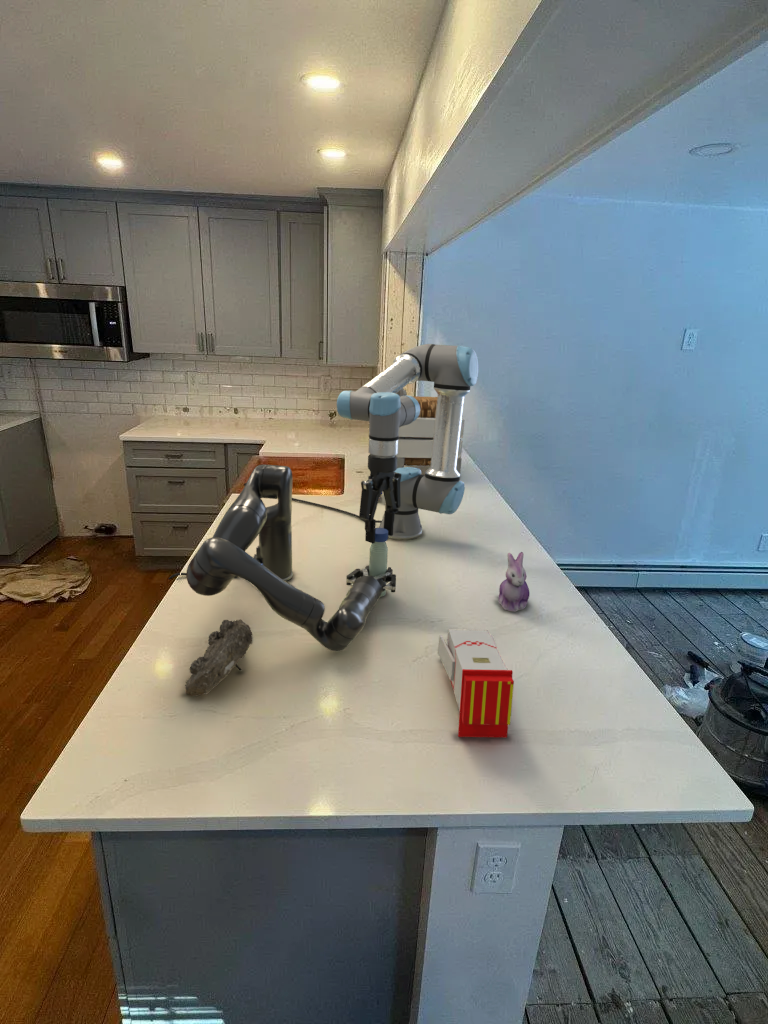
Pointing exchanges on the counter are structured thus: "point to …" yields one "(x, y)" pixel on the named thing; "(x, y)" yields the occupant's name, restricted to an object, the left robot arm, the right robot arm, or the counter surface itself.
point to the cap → (381, 535)
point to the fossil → (219, 656)
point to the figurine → (514, 585)
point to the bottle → (378, 560)
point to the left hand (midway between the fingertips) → (380, 568)
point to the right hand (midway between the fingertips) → (379, 537)
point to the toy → (478, 682)
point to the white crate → (421, 436)
